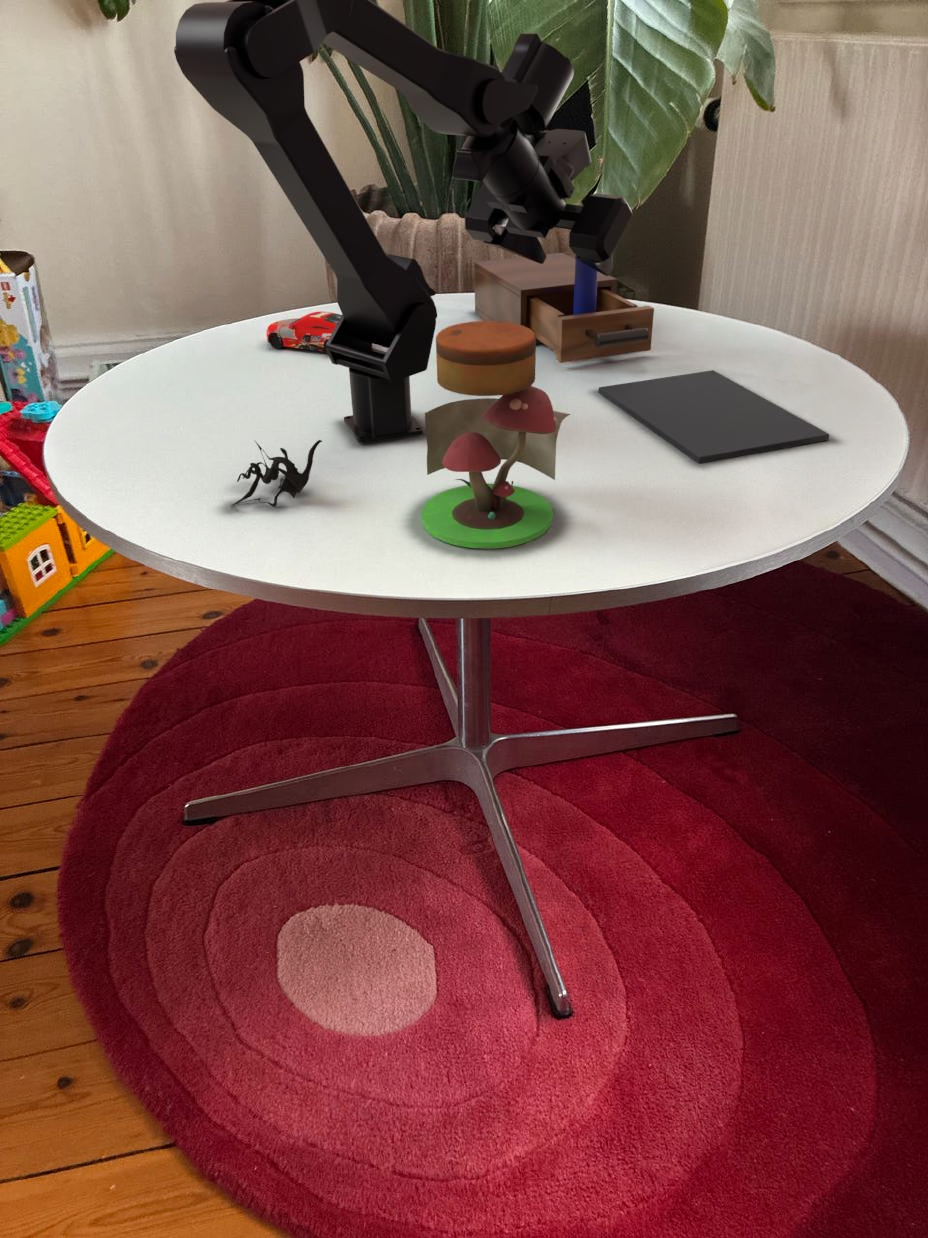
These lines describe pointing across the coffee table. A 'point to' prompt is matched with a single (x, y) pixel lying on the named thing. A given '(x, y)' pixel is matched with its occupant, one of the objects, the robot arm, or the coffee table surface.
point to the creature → (292, 477)
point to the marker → (584, 289)
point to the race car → (303, 331)
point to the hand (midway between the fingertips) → (575, 265)
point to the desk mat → (711, 416)
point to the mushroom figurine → (489, 436)
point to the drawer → (589, 325)
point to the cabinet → (523, 285)
